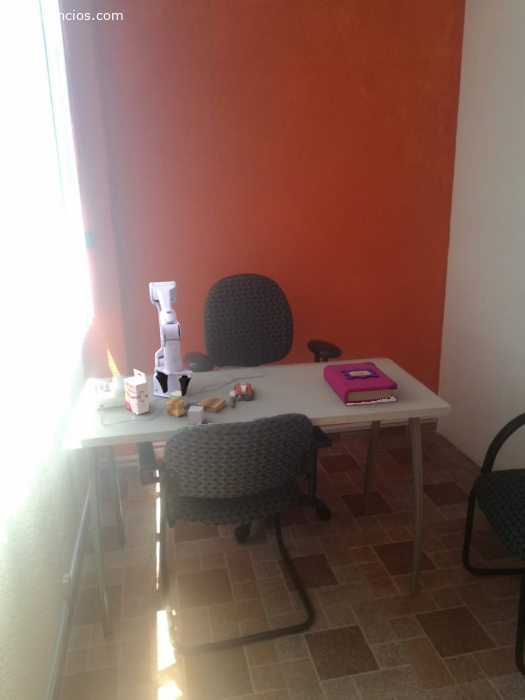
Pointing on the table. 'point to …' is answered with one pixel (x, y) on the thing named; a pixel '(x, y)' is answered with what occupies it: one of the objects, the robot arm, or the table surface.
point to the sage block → (178, 396)
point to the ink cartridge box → (136, 393)
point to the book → (359, 382)
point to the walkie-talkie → (241, 393)
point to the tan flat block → (211, 404)
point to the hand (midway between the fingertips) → (174, 393)
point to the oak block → (175, 407)
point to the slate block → (196, 414)
